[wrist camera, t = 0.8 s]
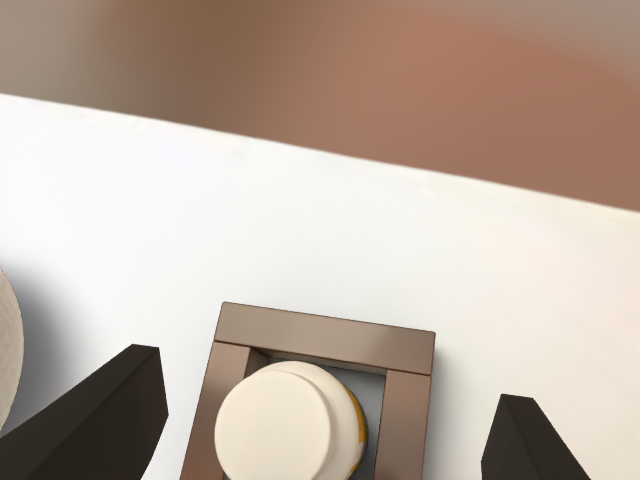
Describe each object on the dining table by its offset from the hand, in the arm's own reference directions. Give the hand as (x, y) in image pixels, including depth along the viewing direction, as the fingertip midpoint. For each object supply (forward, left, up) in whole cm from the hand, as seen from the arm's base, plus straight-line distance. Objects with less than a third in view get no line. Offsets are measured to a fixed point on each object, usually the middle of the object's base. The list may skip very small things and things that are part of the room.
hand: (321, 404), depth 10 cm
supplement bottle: (-1, +2, -16) cm, 16 cm away
